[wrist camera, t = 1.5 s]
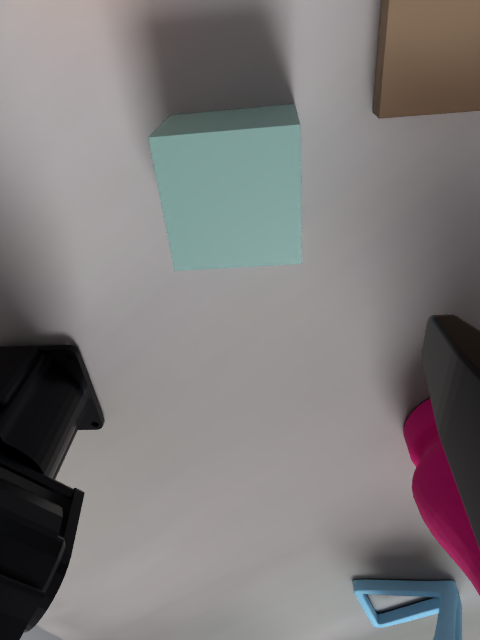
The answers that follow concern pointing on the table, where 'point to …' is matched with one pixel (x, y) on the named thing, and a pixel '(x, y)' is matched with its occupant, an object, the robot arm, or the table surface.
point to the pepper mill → (440, 492)
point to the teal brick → (231, 187)
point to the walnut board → (427, 58)
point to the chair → (443, 604)
